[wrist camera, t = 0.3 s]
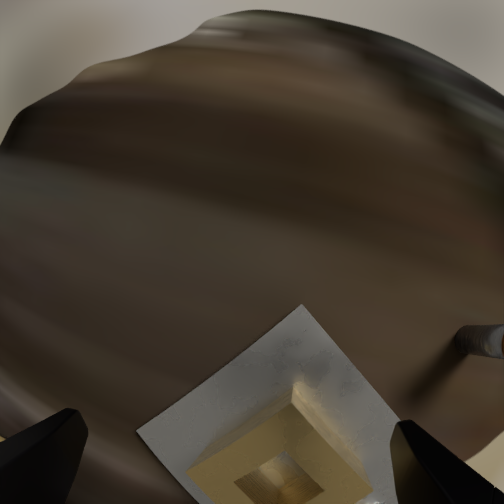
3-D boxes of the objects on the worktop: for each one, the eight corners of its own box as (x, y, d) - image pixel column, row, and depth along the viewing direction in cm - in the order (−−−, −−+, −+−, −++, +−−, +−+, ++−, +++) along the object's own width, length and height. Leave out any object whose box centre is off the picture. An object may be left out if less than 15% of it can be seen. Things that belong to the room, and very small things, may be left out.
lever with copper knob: (484, 338, 20) (544, 340, 12) (464, 362, 20) (522, 374, 12) (467, 315, 21) (527, 310, 13) (447, 339, 21) (503, 343, 13)
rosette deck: (456, 487, 17) (485, 517, 12) (307, 580, 17) (305, 620, 11) (301, 305, 23) (302, 299, 17) (144, 425, 23) (105, 447, 17)
